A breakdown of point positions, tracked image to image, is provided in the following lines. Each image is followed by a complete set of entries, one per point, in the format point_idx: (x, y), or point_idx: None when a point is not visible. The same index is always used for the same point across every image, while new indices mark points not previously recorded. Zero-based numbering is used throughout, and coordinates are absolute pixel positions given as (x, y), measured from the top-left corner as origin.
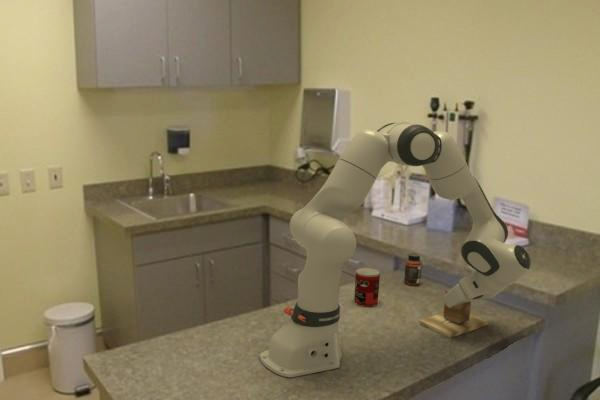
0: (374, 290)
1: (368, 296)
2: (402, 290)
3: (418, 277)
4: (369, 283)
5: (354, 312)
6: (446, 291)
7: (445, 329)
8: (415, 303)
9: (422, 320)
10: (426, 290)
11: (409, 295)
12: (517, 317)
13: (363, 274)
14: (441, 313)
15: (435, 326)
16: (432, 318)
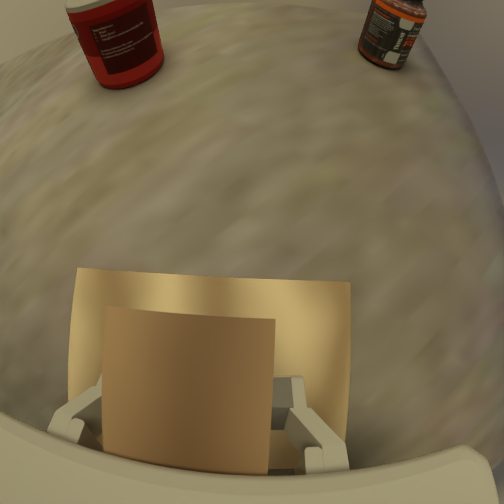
0: (101, 50)
1: (93, 64)
2: (313, 57)
3: (394, 48)
4: (77, 31)
5: (48, 108)
6: (108, 318)
7: None
8: (259, 128)
9: (83, 278)
10: (390, 96)
11: (302, 83)
12: (480, 438)
13: (65, 4)
14: (225, 278)
15: (76, 355)
16: (134, 291)
